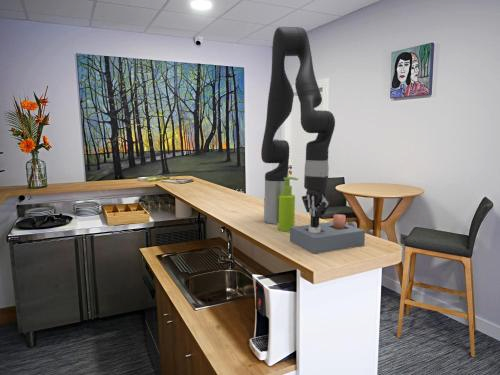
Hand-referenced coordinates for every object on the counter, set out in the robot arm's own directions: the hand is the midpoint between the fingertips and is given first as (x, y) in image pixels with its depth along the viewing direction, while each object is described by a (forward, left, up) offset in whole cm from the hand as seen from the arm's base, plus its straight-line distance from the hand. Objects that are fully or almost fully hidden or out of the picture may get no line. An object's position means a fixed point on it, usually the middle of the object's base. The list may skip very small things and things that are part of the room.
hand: (314, 226), depth 121 cm
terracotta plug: (0, +10, -2) cm, 10 cm away
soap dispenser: (-20, +2, -7) cm, 21 cm away
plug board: (0, +5, -6) cm, 8 cm away
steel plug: (0, 0, -5) cm, 5 cm away
